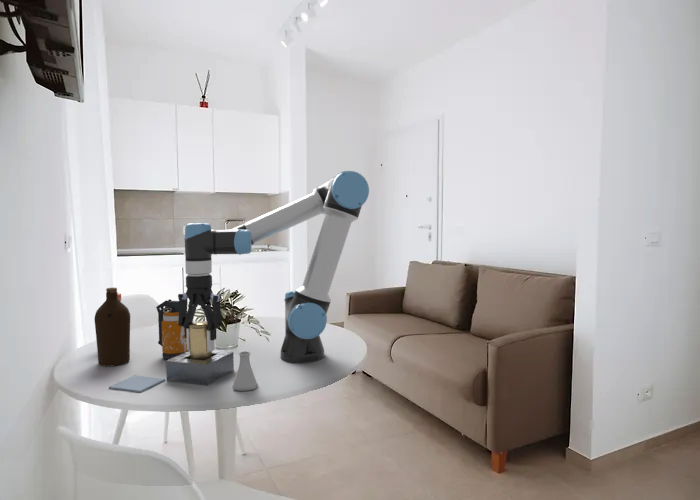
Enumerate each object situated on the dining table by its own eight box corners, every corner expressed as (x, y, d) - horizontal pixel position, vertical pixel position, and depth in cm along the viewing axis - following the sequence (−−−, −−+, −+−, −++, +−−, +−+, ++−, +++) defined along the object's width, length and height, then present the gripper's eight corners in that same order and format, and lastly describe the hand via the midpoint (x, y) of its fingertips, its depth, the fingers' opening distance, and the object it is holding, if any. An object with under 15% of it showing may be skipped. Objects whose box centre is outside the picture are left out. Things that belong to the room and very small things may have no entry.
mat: (165, 380, 136) (165, 378, 136) (140, 392, 126) (140, 390, 126) (134, 376, 139) (134, 375, 139) (108, 388, 130) (108, 386, 130)
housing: (233, 370, 145) (233, 351, 145) (207, 385, 132) (207, 364, 131) (195, 366, 149) (195, 348, 149) (166, 380, 136) (166, 360, 135)
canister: (180, 361, 154) (179, 302, 153) (151, 359, 157) (149, 301, 155) (195, 353, 163) (193, 298, 162) (167, 352, 165) (165, 297, 164)
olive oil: (137, 361, 154) (134, 287, 153) (103, 369, 146) (100, 291, 145) (123, 355, 161) (121, 285, 160) (91, 362, 153) (88, 288, 152)
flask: (260, 382, 134) (259, 349, 133) (255, 391, 127) (255, 356, 126) (235, 382, 134) (234, 349, 133) (229, 392, 127) (228, 356, 126)
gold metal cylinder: (216, 372, 142) (215, 322, 141) (204, 379, 136) (203, 326, 135) (198, 371, 144) (197, 320, 143) (185, 377, 138) (184, 325, 137)
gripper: (233, 274, 139) (235, 348, 141) (179, 272, 145) (181, 344, 146) (220, 276, 132) (222, 355, 134) (163, 274, 137) (165, 350, 139)
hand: (200, 349), depth 140 cm, fingers closed on gold metal cylinder, 6 cm apart
